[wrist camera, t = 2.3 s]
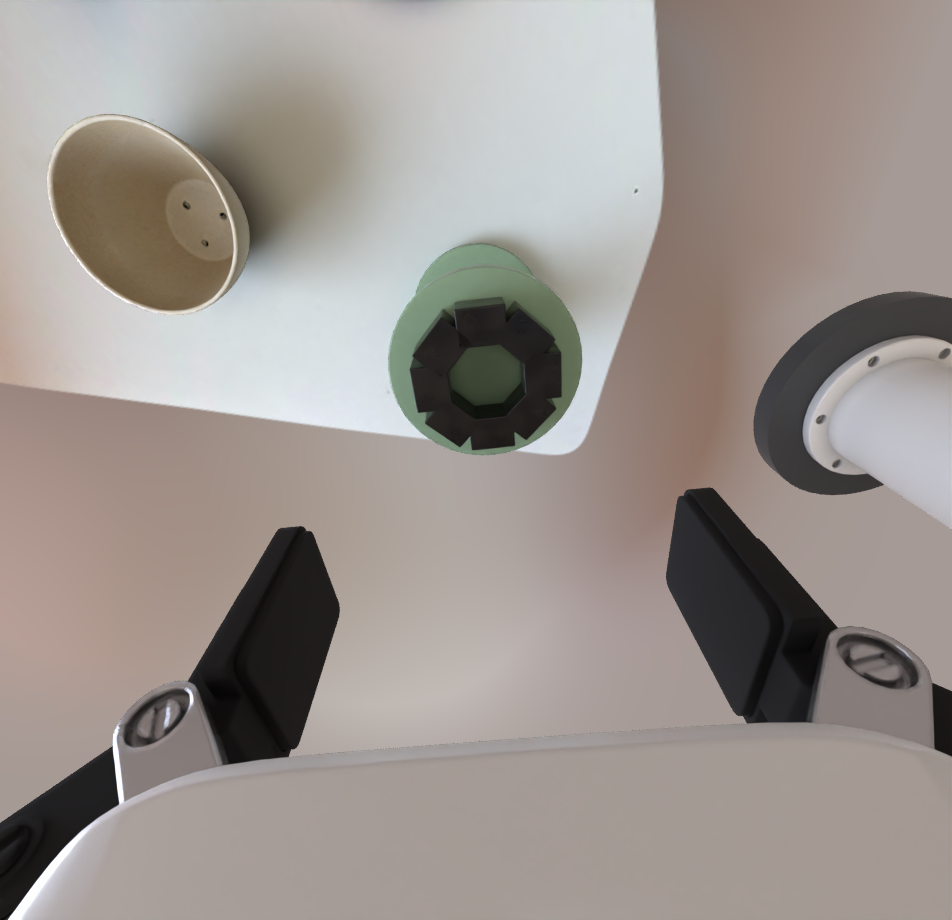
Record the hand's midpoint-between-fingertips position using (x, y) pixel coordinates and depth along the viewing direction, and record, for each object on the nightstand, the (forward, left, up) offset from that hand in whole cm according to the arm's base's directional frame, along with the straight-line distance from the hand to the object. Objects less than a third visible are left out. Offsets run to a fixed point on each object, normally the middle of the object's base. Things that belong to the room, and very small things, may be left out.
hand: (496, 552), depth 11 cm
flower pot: (+18, -9, -28) cm, 34 cm away
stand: (0, 0, -27) cm, 27 cm away
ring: (0, 0, -13) cm, 13 cm away
